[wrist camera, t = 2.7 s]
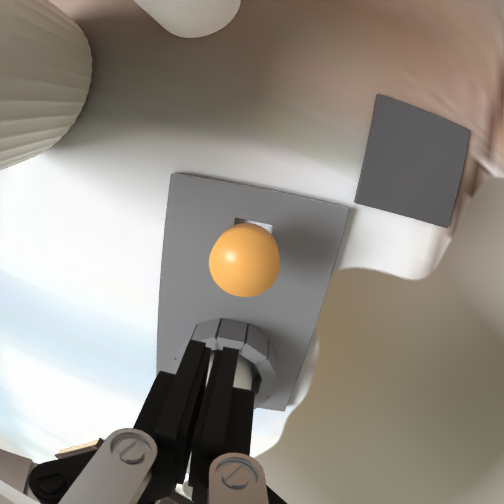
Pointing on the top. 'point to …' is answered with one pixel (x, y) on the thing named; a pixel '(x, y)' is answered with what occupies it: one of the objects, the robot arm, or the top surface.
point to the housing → (245, 308)
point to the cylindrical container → (191, 15)
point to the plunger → (245, 260)
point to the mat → (412, 162)
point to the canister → (39, 77)
